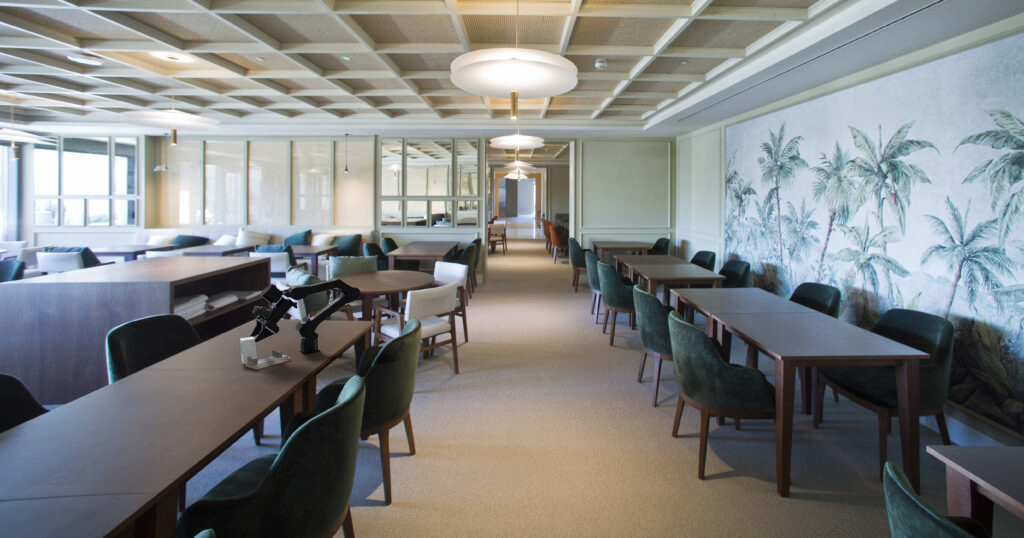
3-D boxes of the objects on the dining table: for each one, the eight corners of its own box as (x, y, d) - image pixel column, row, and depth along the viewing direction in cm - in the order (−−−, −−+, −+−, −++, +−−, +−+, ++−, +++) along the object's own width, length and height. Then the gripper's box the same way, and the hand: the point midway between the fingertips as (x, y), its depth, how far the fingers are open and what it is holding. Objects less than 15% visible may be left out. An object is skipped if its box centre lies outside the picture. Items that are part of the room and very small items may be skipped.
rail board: (280, 357, 221) (280, 347, 221) (290, 360, 217) (289, 350, 217) (245, 366, 209) (245, 356, 209) (255, 369, 205) (254, 359, 204)
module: (254, 359, 219) (253, 336, 217) (256, 362, 215) (255, 338, 214) (241, 361, 216) (239, 338, 214) (243, 364, 212) (241, 340, 211)
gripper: (259, 295, 224) (233, 324, 219) (269, 302, 209) (240, 332, 204) (280, 311, 230) (254, 339, 224) (290, 318, 215) (263, 348, 210)
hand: (253, 339), depth 215 cm, fingers open, 9 cm apart
